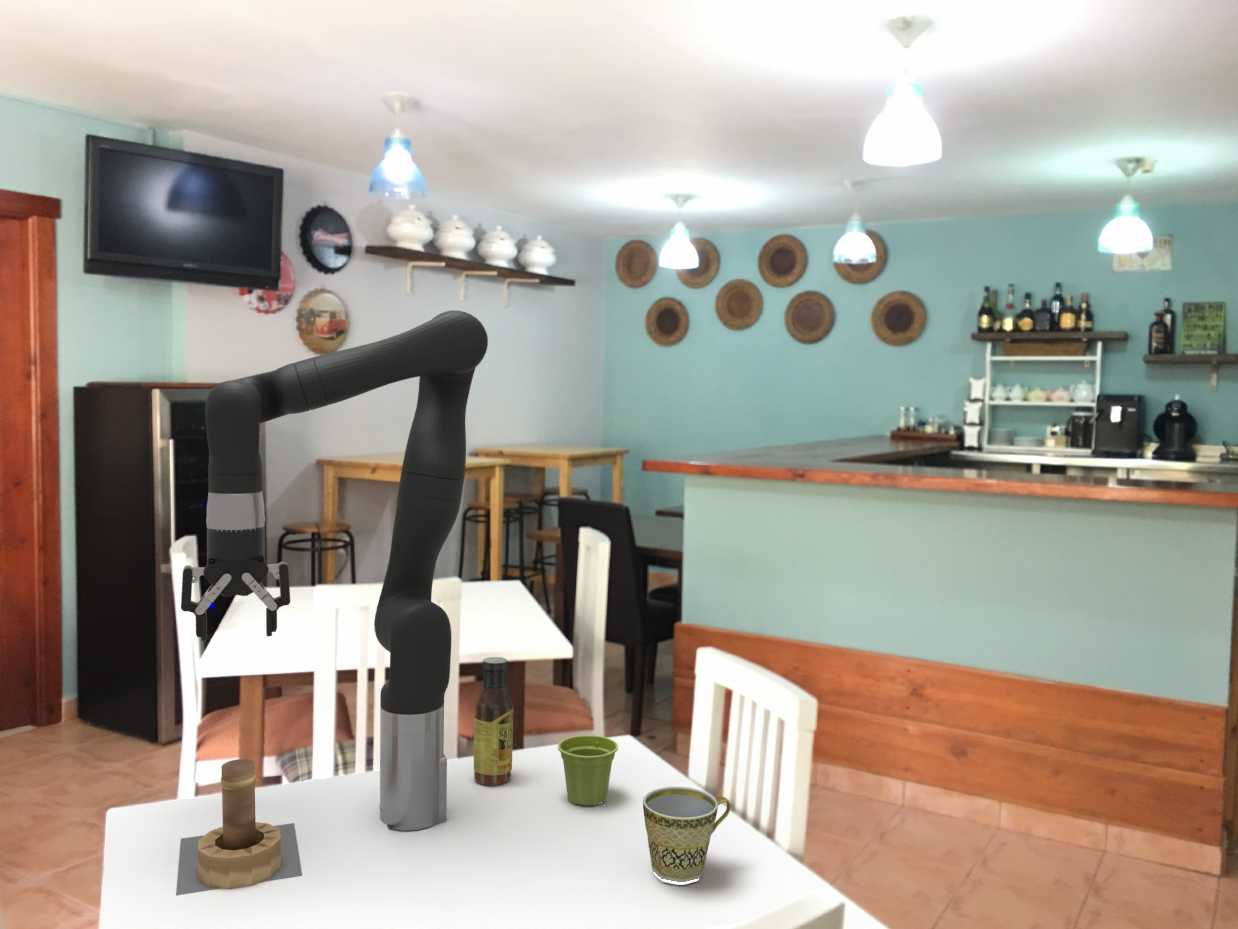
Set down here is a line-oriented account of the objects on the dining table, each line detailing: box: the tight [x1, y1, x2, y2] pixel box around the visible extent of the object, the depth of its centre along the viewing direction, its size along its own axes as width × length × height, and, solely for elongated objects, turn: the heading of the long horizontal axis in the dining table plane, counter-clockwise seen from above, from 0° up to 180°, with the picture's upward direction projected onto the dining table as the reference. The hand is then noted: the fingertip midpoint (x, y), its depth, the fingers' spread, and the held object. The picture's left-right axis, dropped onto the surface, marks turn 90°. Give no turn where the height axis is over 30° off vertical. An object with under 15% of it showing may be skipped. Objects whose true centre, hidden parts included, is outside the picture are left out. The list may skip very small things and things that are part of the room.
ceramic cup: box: [642, 786, 731, 882], centre depth 133 cm, size 13×10×10 cm
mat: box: [175, 822, 303, 896], centre depth 133 cm, size 15×16×1 cm
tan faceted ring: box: [198, 821, 281, 890], centre depth 130 cm, size 10×10×4 cm
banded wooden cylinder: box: [220, 758, 257, 850], centre depth 129 cm, size 4×4×14 cm
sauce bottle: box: [473, 656, 514, 786], centre depth 161 cm, size 7×6×20 cm
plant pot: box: [557, 734, 619, 806], centre depth 155 cm, size 9×9×9 cm
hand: (236, 637), depth 139 cm, fingers open, 8 cm apart
